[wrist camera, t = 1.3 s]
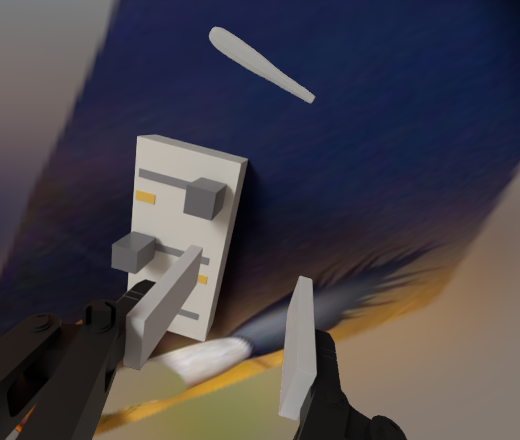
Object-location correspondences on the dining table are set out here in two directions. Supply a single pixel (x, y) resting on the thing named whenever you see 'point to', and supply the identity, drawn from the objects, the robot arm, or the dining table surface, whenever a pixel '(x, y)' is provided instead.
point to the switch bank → (185, 220)
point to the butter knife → (255, 62)
